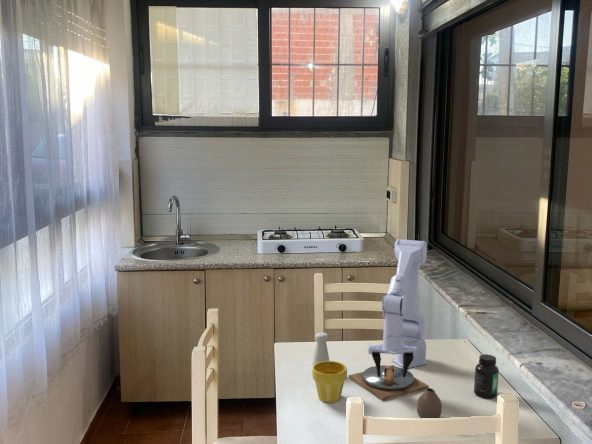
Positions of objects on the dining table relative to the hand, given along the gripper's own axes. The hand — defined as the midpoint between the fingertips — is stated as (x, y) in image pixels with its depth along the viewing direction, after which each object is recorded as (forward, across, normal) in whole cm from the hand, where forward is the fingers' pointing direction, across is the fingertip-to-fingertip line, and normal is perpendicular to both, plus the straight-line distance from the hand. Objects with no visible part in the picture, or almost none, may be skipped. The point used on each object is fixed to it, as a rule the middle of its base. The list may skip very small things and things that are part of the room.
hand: (391, 375), depth 183 cm
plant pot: (+6, -19, -5) cm, 20 cm away
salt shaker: (+6, -21, +15) cm, 27 cm away
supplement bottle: (+6, +29, 0) cm, 30 cm away
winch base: (+5, 0, +6) cm, 8 cm away
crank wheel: (+4, 0, +6) cm, 8 cm away
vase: (+6, +8, -16) cm, 19 cm away
